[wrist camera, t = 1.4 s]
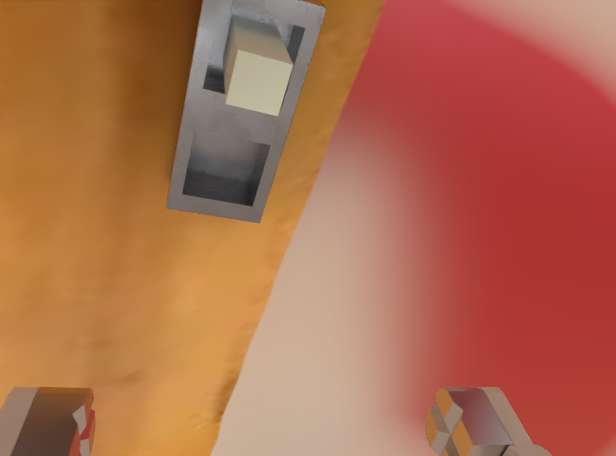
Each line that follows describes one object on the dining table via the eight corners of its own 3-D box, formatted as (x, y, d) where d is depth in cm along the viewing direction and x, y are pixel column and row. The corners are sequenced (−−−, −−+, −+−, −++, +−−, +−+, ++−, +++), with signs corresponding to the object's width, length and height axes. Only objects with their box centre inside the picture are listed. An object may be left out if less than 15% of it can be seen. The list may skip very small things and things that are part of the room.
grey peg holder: (208, -40, 29) (208, -30, 26) (315, -6, 31) (326, 8, 28) (169, 180, 38) (166, 208, 35) (255, 195, 40) (259, 223, 37)
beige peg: (232, 13, 31) (238, 49, 25) (276, 26, 32) (293, 64, 25) (222, 58, 32) (225, 104, 26) (265, 70, 33) (278, 116, 27)
